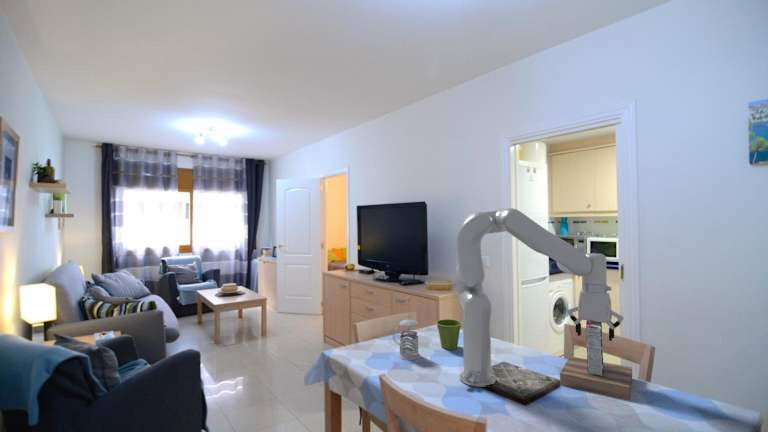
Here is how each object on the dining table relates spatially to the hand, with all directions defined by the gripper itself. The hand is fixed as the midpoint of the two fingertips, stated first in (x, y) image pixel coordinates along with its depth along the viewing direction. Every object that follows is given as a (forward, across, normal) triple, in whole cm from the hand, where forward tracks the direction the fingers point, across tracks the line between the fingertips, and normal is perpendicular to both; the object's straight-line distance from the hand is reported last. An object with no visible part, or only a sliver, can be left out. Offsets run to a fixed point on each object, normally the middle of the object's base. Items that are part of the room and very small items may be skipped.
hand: (594, 337), depth 131 cm
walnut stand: (+15, 0, 0) cm, 15 cm away
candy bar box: (+12, 0, 0) cm, 12 cm away
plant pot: (+16, +58, -5) cm, 61 cm away
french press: (+17, +68, +15) cm, 72 cm away
